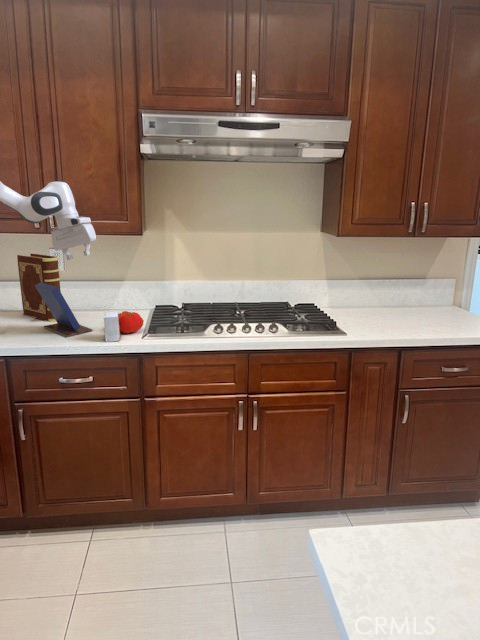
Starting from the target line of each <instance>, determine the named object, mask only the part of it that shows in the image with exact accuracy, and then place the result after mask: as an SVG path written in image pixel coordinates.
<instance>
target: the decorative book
mask: <svg viewBox="0 0 480 640" xmlns="http://www.w3.org/2000/svg"><path fill="white" fill-rule="evenodd" d="M16 256H17V268H18V278H19V285H20V286H19V287H20V295H21V302H22V311H23V315H24V316H28V317H32V318H35V319H36V320H41V321H46V322H51V323H52V322H56V320H55V318H54V317H53V315H52V313H51V312H50V310H49V309H48V307H47V305H46V304H45V302H44V300H43V299H42V297H41V295H40V294H39V292H38V291H37V289H36V287H35V285H37V284H38V283H40V282H42V283H45V284H49V285H52V286H56V287H58V289H59V290H60V292H61V293H62V291H61V282H60V281H61V277H60V270H61V269H60V268H59V261H60V258H59V256H54V255H47V254H39V253H30V256H29V255H28V256H27V255H20V254H17V255H16Z"/></svg>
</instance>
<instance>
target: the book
mask: <svg viewBox="0 0 480 640" xmlns="http://www.w3.org/2000/svg"><path fill="white" fill-rule="evenodd" d="M35 287H36V289H37V291H38V292H39V294H40V295H41V297H42V299H43V300H44V302H45V304H46V305H47V307H48V309H49V310H50V312H51V313H52V315H53V317H54V318H55V320H56V321H55V323H56V324H57V323H58V325H61V326H64V327H66V328H69V329H71V330H74V331H76V330H78V329H79V328H80V327H81V326H82V325H81V324H80V323H79V321H78V319H77V318H76V316H75V314H74V312H73V311H72V309H71V307H70V306H69V304H68V302H67V301H66V299H65V297H64V296H63V294H62V291H61V292H60V290H61V289H60V290H59V289H58V287H56V286H52V285H49V284H45V283H42V282H40V283H38V284H37V285H35ZM80 325H81V326H80Z"/></svg>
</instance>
